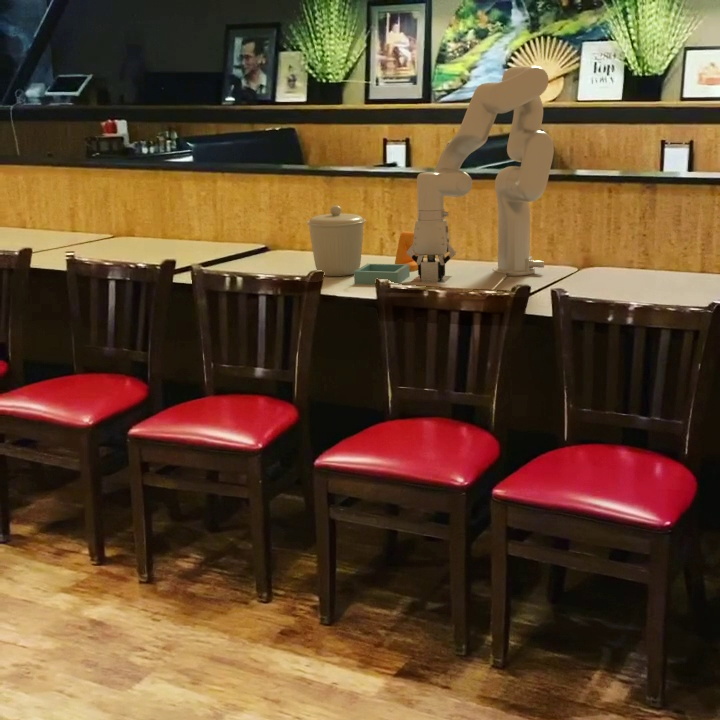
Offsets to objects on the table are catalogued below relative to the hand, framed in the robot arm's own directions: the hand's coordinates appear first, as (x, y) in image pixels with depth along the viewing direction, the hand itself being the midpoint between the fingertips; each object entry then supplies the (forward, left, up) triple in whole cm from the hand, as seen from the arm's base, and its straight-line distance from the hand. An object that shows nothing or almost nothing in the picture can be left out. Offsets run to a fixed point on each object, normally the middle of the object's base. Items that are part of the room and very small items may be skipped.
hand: (431, 277), depth 307 cm
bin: (+14, +3, -1) cm, 14 cm away
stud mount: (0, 0, -1) cm, 1 cm away
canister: (+32, -9, -2) cm, 33 cm away
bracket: (+10, -18, -2) cm, 21 cm away
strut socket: (0, 0, 0) cm, 0 cm away
